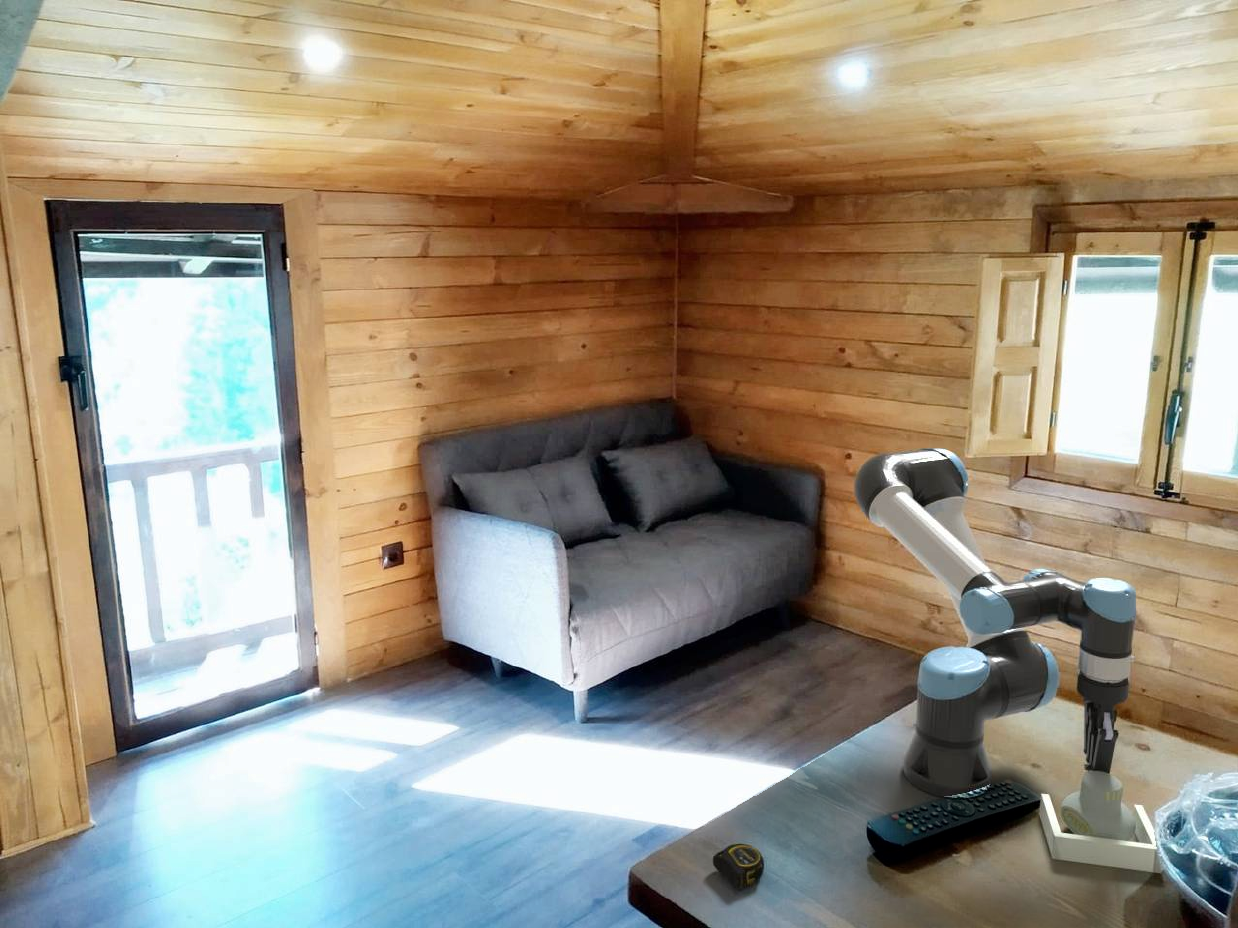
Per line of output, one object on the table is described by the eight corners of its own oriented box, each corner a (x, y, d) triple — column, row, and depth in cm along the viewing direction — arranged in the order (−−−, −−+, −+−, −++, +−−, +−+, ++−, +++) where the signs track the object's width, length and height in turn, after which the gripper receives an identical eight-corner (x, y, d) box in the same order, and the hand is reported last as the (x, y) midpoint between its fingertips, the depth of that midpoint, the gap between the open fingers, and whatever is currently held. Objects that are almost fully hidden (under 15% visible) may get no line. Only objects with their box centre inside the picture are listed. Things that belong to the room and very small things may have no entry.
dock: (1052, 858, 147) (1054, 836, 147) (1039, 814, 159) (1041, 793, 158) (1161, 873, 144) (1164, 850, 143) (1139, 826, 155) (1142, 805, 154)
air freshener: (1142, 848, 150) (1151, 795, 147) (1101, 861, 147) (1109, 807, 144) (1089, 807, 159) (1096, 756, 156) (1050, 818, 157) (1056, 767, 154)
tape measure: (710, 871, 146) (710, 849, 146) (746, 857, 149) (746, 836, 149) (735, 896, 140) (735, 874, 140) (772, 881, 143) (773, 860, 143)
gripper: (1139, 692, 146) (1127, 826, 151) (1119, 658, 158) (1108, 783, 163) (1087, 689, 148) (1077, 821, 153) (1070, 655, 159) (1061, 779, 165)
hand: (1093, 801), depth 158 cm, fingers closed
